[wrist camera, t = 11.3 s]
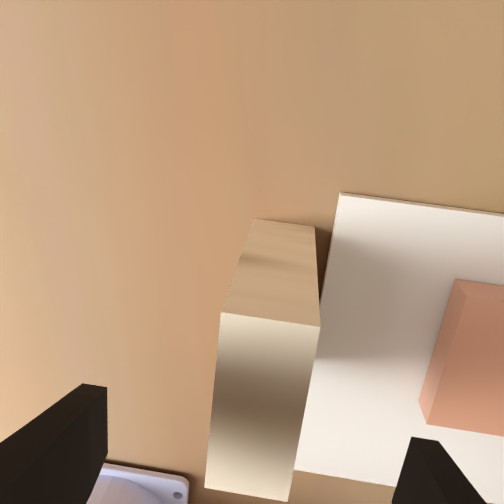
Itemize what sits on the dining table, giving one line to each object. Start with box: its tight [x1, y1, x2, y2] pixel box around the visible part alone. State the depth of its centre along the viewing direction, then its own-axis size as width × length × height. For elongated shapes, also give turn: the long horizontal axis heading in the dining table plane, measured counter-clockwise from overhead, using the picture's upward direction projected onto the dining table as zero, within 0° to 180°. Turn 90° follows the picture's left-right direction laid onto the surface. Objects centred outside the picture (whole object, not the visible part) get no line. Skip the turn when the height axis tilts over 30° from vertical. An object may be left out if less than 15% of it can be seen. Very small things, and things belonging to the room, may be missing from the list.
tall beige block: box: [204, 218, 321, 502], centre depth 16 cm, size 6×2×8 cm, turn 174°
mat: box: [294, 192, 504, 504], centre depth 20 cm, size 14×16×1 cm
